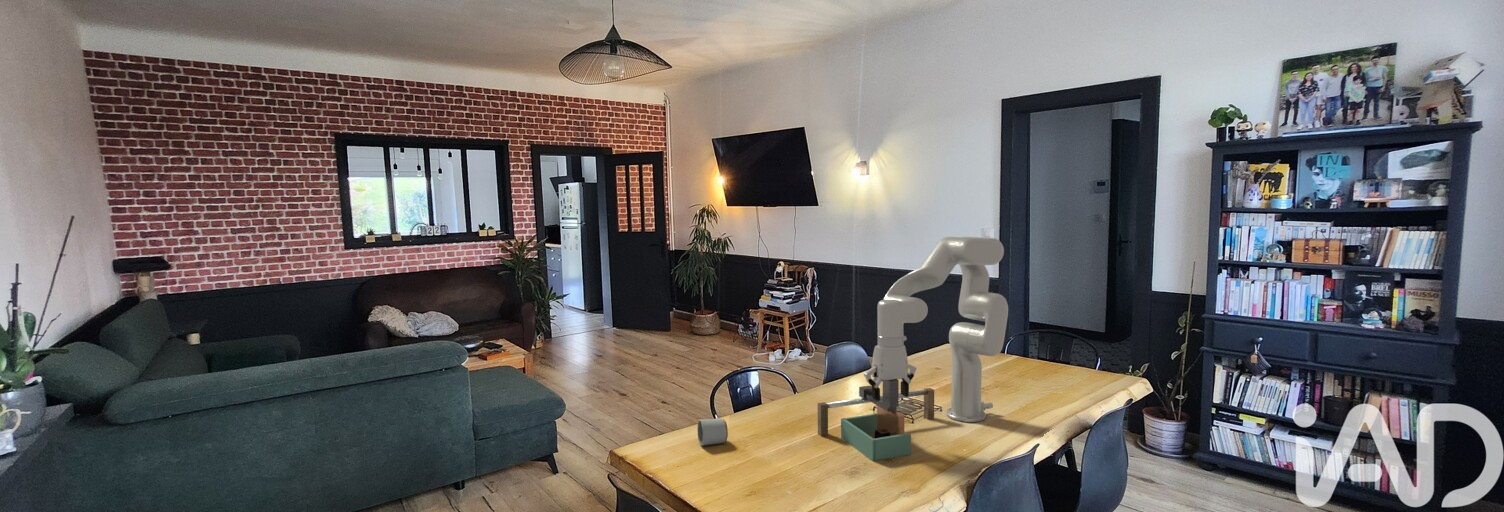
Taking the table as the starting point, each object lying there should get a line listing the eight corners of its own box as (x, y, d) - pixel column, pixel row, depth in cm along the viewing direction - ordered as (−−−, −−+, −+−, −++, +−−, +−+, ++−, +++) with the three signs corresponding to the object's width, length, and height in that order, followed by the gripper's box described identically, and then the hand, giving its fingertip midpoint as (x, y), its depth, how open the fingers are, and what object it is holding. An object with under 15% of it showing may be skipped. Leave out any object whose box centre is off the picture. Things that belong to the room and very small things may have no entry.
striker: (870, 421, 208) (870, 365, 206) (907, 445, 188) (907, 383, 186) (859, 423, 207) (859, 366, 205) (895, 447, 186) (895, 385, 185)
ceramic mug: (729, 445, 193) (728, 420, 192) (703, 449, 190) (702, 424, 190) (719, 434, 203) (719, 410, 202) (694, 437, 200) (693, 413, 200)
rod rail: (929, 416, 215) (930, 388, 214) (934, 418, 213) (934, 389, 212) (817, 433, 201) (817, 403, 201) (821, 436, 199) (820, 405, 198)
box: (876, 432, 202) (876, 413, 201) (910, 454, 184) (910, 434, 184) (841, 437, 198) (840, 418, 197) (872, 461, 180) (872, 440, 179)
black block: (904, 452, 188) (904, 436, 187) (882, 455, 185) (882, 440, 185) (881, 436, 199) (881, 422, 199) (860, 440, 197) (860, 425, 196)
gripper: (908, 336, 196) (908, 390, 198) (858, 341, 191) (858, 397, 192) (922, 341, 189) (922, 397, 191) (871, 347, 183) (871, 405, 185)
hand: (890, 397), depth 192 cm, fingers open, 9 cm apart
